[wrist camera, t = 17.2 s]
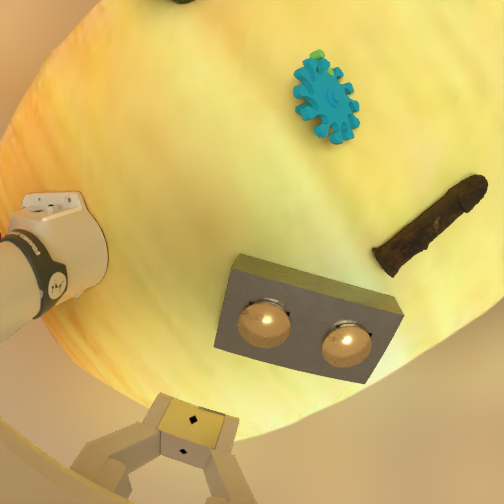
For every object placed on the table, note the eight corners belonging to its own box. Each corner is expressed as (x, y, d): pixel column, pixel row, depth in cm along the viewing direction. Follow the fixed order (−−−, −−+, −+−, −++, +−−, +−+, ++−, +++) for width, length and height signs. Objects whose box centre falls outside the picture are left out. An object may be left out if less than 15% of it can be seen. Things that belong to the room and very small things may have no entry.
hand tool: (383, 270, 37) (393, 285, 32) (368, 248, 36) (377, 260, 32) (483, 191, 31) (501, 197, 26) (471, 167, 30) (490, 170, 26)
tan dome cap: (313, 341, 40) (314, 361, 36) (330, 303, 38) (333, 322, 33) (354, 350, 39) (358, 371, 35) (373, 315, 37) (380, 333, 33)
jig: (222, 327, 43) (211, 350, 37) (239, 253, 39) (230, 270, 33) (360, 362, 41) (365, 387, 36) (394, 297, 37) (406, 318, 32)
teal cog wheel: (369, 146, 30) (310, 137, 25) (330, 152, 35) (269, 148, 29) (354, 61, 28) (294, 35, 23) (319, 74, 33) (258, 57, 28)
